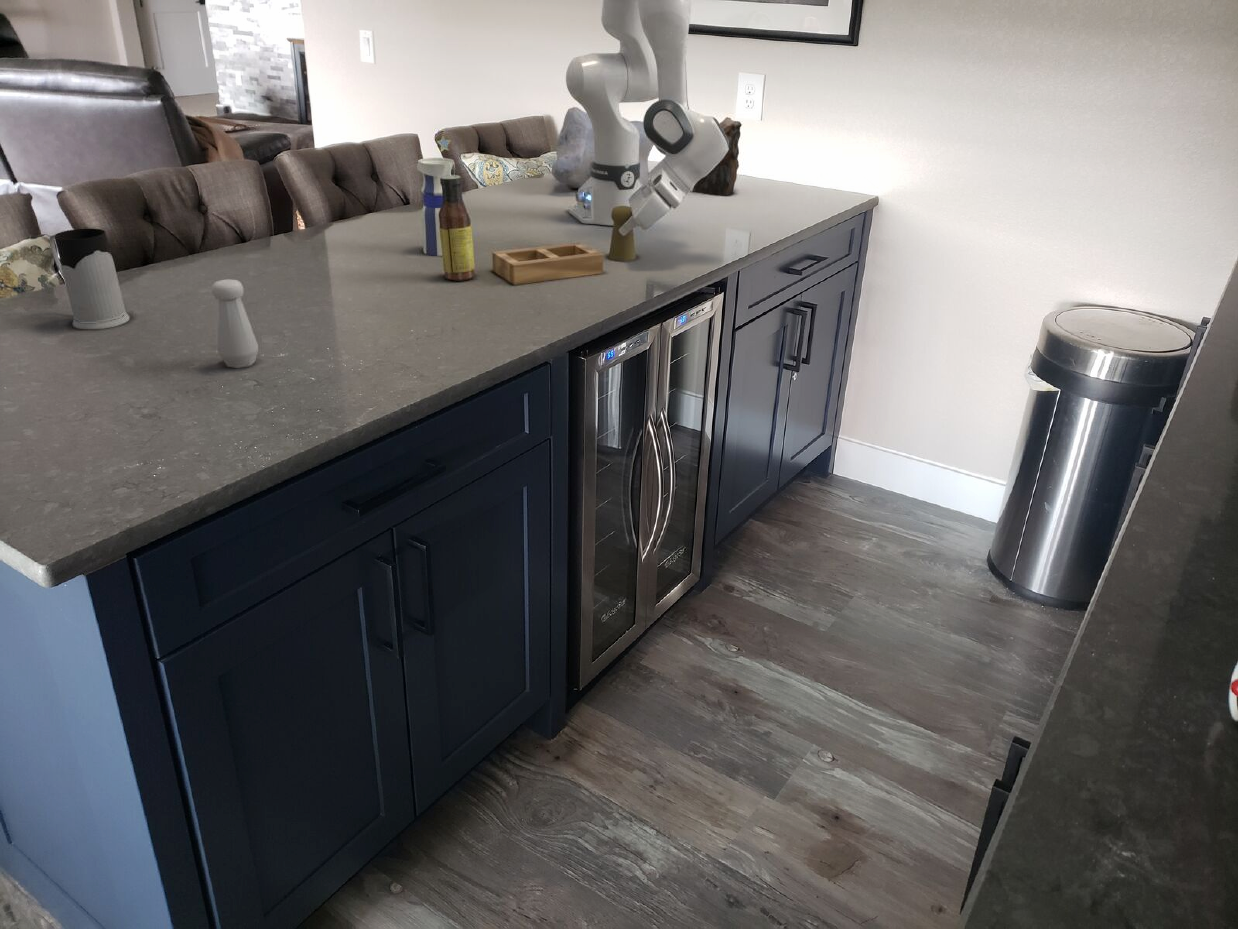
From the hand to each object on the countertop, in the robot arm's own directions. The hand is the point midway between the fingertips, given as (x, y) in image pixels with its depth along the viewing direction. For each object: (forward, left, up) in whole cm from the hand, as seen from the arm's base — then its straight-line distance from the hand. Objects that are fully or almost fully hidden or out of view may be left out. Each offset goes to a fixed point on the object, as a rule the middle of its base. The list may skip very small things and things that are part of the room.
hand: (620, 229), depth 202 cm
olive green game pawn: (0, +1, -6) cm, 6 cm away
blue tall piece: (-21, -33, -6) cm, 40 cm away
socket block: (+4, -19, -6) cm, 21 cm away
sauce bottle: (0, -37, -6) cm, 38 cm away
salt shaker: (+30, -84, -6) cm, 90 cm away
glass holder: (-3, -103, -6) cm, 104 cm away
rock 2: (-53, +62, -6) cm, 81 cm away
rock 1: (-70, +34, -6) cm, 78 cm away
